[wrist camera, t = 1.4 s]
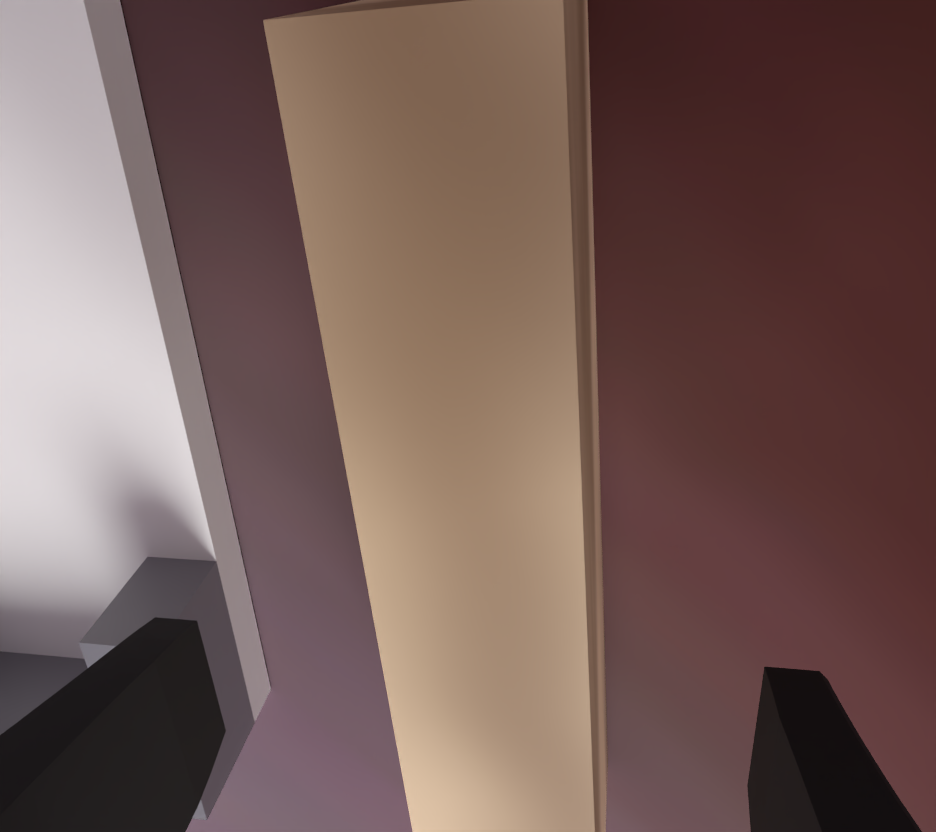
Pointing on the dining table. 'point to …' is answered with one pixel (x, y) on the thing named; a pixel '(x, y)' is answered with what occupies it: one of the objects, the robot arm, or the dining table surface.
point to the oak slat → (464, 382)
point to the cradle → (102, 386)
